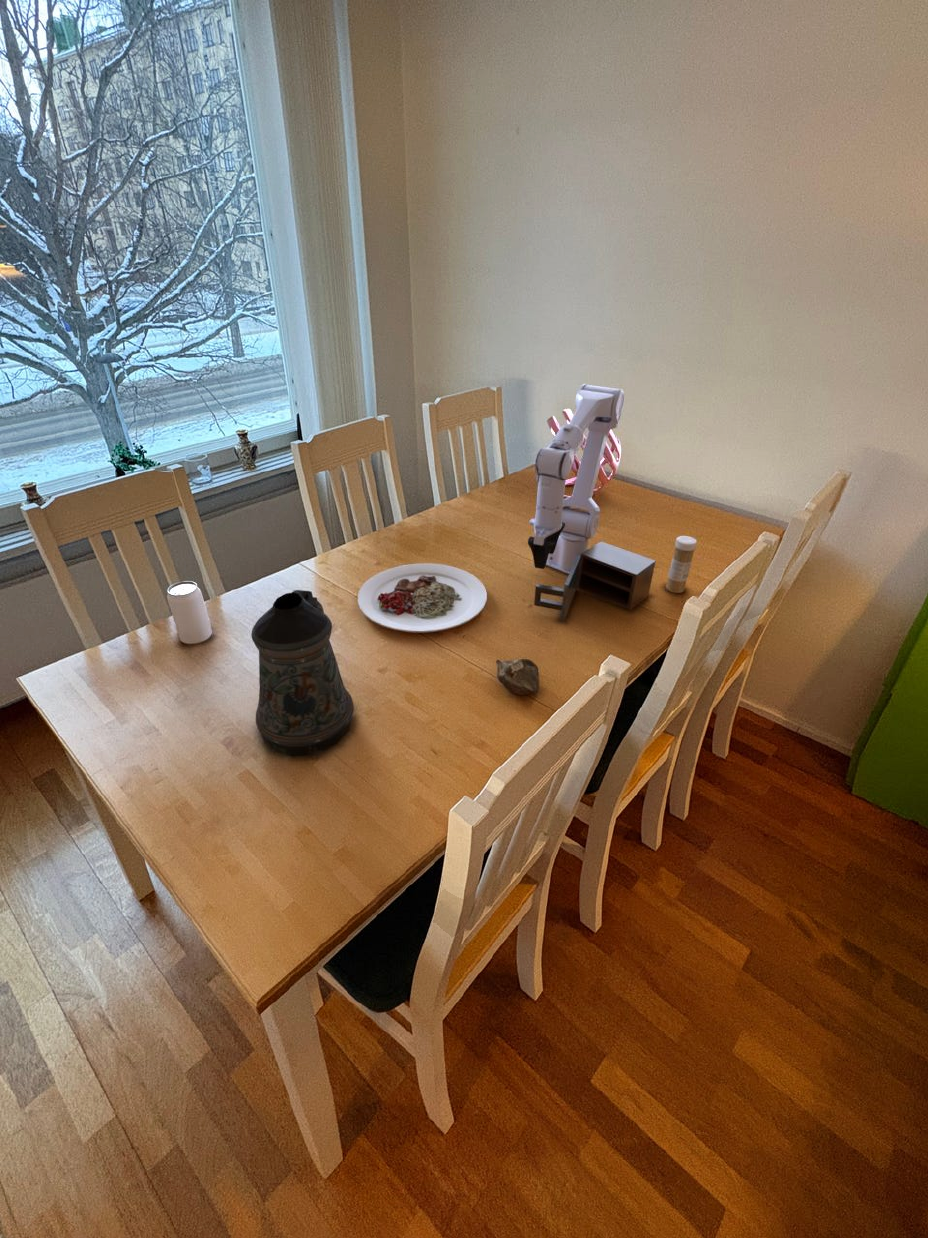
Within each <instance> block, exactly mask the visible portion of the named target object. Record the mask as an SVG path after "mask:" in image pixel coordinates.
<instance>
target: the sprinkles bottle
mask: <svg viewBox="0 0 928 1238" xmlns="http://www.w3.org/2000/svg"><path fill="white" fill-rule="evenodd" d="M697 543H698V540H697V539H696V538H695V537H692V536H689V535H680V536H677V537H676V539H675V542H674V550H673V551H674V552H673V556H672V559H671V564H670V567H669V571H668V577H667V582H666V584H665V589H666V590H667V591H668V592H670V593H675V594H681V593H684V592H685V590H686V584H687V580H688V578H689V573H690V570H691V566H692V562H693V557H694V552H695V550H696V548H697Z"/></svg>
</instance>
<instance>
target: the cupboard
mask: <svg viewBox="0 0 928 1238" xmlns="http://www.w3.org/2000/svg"><path fill="white" fill-rule="evenodd" d="M656 563H657V562H656V560H654V559H651V558H649V557H647V556H643V555H640V554H638V553H635V552H633V551H629V550H628V549H627V550H626V549H624V548H621V547H618V546H615V545H613V544H609V543H608V542H604V541H599V542H598V543H596V544H594V545H593V546H591V547H588V549H587V550H586V551H585V552H583V553H581V558H580V565H579V573H578V580H577V587H576V590H579V591H581V592H583V593H586V594H588V595H591V596H593V597H596V598H598V599H600V600H602V601H605V602H607V603H610V604H612V605H614V606H616V607H619V608H622V609H624V610H627V611H631V610H633V609H634V608H635V607H636V606H638V605H639V604H640V603H641V602H643V601H644V600H645V599H646V598H648V597H649V595H650V590H651V585H652V581H653V580H652V579H653V575H654V571H655V566H656Z"/></svg>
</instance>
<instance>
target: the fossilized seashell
mask: <svg viewBox="0 0 928 1238" xmlns="http://www.w3.org/2000/svg"><path fill="white" fill-rule="evenodd" d="M495 663H496V665H497V671H496V672H497V673H496V674H497V680H498V681H499V683H500V684H502V686H503V687H504V688H505V689H506V690H508V692H511V693H513V694H517V695H531V694H532V695H535V694H537V693H539V690H540V675H539V673H540V672H539V668H538V667H539V666H538V665H537V664H536V663H535V662H534V661H533V660H531V659H529V658H528V659H527V658H519V657H516V658H515V660H500V659H496V660H495Z"/></svg>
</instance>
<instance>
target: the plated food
mask: <svg viewBox="0 0 928 1238" xmlns="http://www.w3.org/2000/svg"><path fill="white" fill-rule="evenodd" d="M487 595H488V593H487V590H486V587H485V585H484V584H483V582H482V581H481V580H480V579H479V578H477V576H475V575H473V574H472V573H470V572H469V571H466V570H465V569H461V568H459V567H456V566H451V565H446V564H441V563H429V562H428V563H425V562H422V563H421V562H420V563H409V564H403V565H398V566H394V567H390V568H388V569H385V570H382V571H380V572H378V573H376V574H375V575H373V576H371V577H369V579H367V580H366V581H365V582H364V583H363V584H362V586H361V587H360V588H359V591H358V592H357V604H358V607H359V609H360V611H361V612H362V613H363V615H364V617H366V618H367V619H369V620H370V621H372V622H373V623H374V624H377V625H378V626H381V627H384V628H387V629H390V630H394V631H399V632H405V633H406V632H407V633H435V632H441V631H445V630H446V631H447V630H451V629H453V628H456V627H459V626H460V627H461V626H462V625H464V624H466V623H468V622H470V621H472V620H473V619H474V618H475V617H477V616H478V615H479V614H480V613H481V612H482V611H483V610H484V608H485V606H486V604H487V600H488V596H487Z"/></svg>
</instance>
